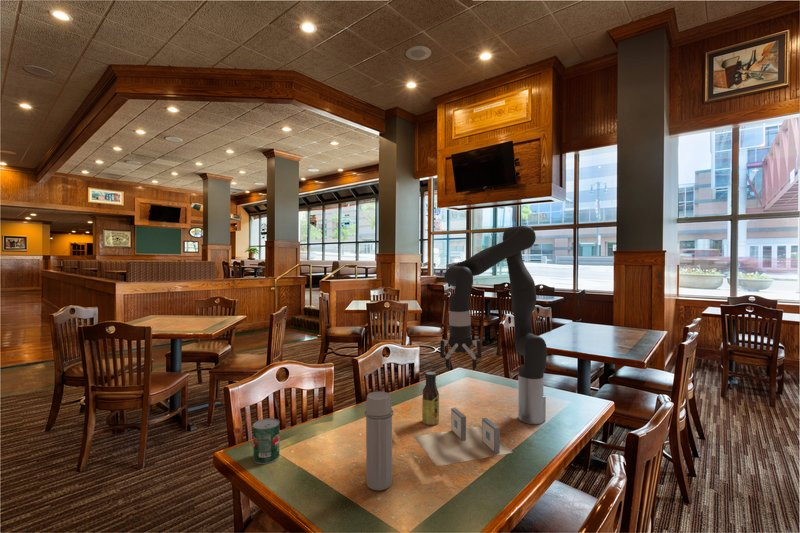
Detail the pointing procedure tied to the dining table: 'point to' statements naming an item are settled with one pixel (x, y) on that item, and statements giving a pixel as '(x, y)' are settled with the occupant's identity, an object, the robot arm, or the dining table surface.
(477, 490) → the dining table surface
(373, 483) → the water bottle
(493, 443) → the slate tile
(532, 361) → the robot arm
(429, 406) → the sauce bottle
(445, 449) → the white flat sheet
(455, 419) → the slate tile
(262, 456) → the canned tomato
